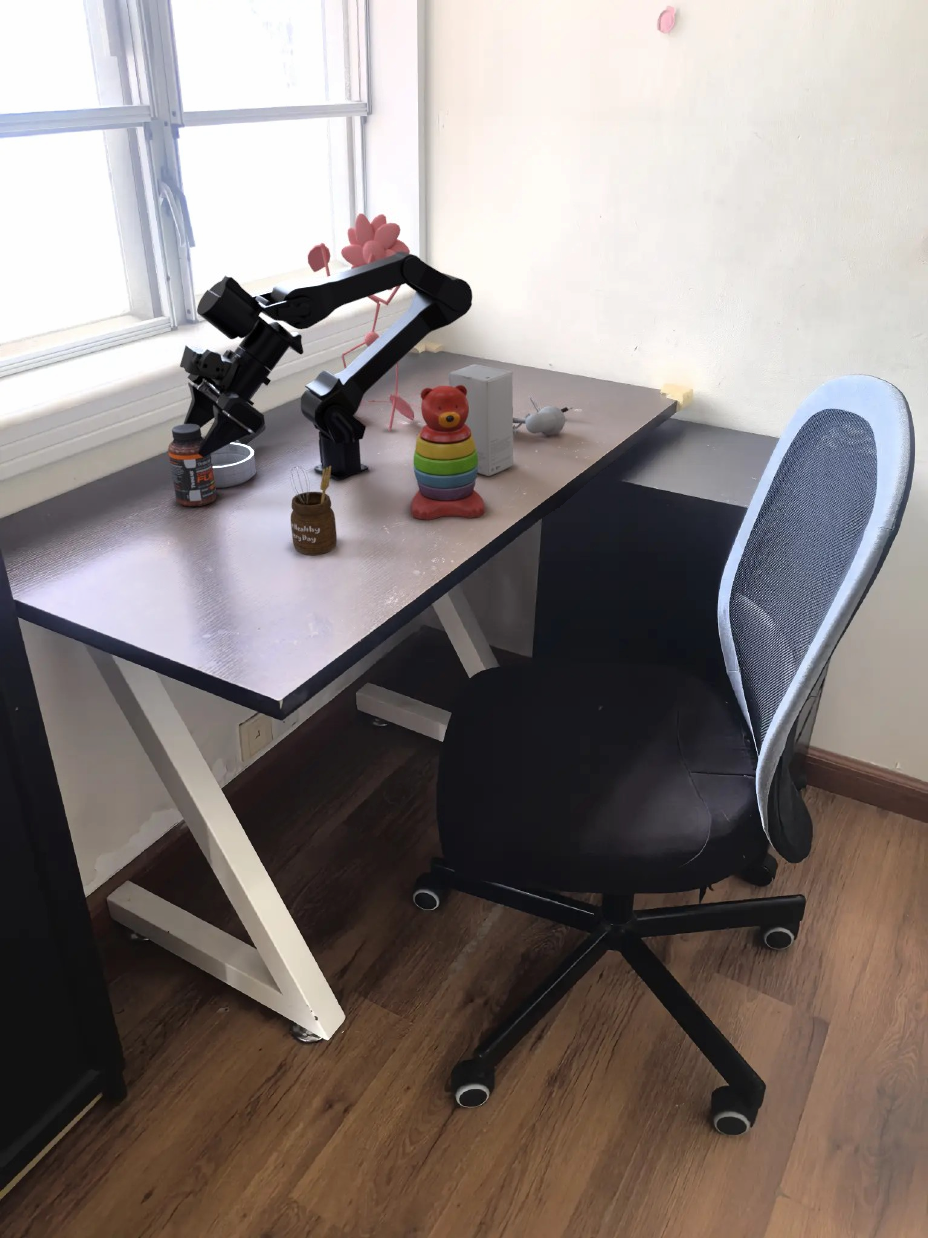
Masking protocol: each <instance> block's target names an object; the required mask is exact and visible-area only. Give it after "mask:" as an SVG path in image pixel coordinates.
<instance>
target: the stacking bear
mask: <svg viewBox="0 0 928 1238" xmlns="http://www.w3.org/2000/svg"><path fill="white" fill-rule="evenodd" d="M466 395H467V389H466V388H465V386H463V385H458V386H456V387H452V386H449V385H437V386H434V387H432V388H431V387H424V388H423V389H422V390H421V391H420V398H421V405H420V410H421V411H420V412H421V415H422V419H423V421H424V422H425V425H424V426H423V427H422V428H421V430H420V432H419V433H420V434H419V433H418V434H419V435H417V437H416V441H415V442H416V443H415V449H414V452H413V472H414V477H415V480H416V482H417V483H416V484H417V487H418V491H417V492H416V493H415V494H414V495H413V497H412V499H411V502H410V514H411V516H412V517H413V518H415V519H419V520H434V519H436V518H440V517H447V516H453V517H461V518H466V519H469V518H470V519H471V518H478V517H480V516H483V515H484V514H485V512H486V508H485V503H484V500H483V498H482V497H481V495H480V494H479V493H478V492H477V491H476V490H475V486H476V482H477V477H478V473H477V471H478V456H477V450H476V448H475V442H474V438H473V436H472V434H471V430H470V428H469V427H468V426H467V425H466V424H464V423H465V422H466V420H467V417H468V413H469V405H468V401H467V398H466Z"/></svg>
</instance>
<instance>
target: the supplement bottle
mask: <svg viewBox="0 0 928 1238" xmlns="http://www.w3.org/2000/svg"><path fill="white" fill-rule="evenodd" d="M201 429H202V428H200V426H198V425H196V424H184V423H182V424H178V425H174V426H173V427H172V428H171V434H172V441H171V442H170V443H169V444H168V445H167V446H168V448H167V450H168V458H169V464H170V470H171V477H172V482H173V489H174V494H175V500H176V502H177V503H178V504H180V505H182V506H185V507H194V508H196V507H202V506H206V505H209V504H211V503H213V502H214V501H215V500H216V498H217V488H216V486H215V480H214V473H213V466H212V458H211V454H209V455H207V456H205V457H202V456H200V455H199V454H198V450H199V448H200V446H201V444H202V442H203V440H204V438H205V437H203V436H202V430H201Z"/></svg>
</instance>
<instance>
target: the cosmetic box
mask: <svg viewBox="0 0 928 1238" xmlns="http://www.w3.org/2000/svg"><path fill="white" fill-rule="evenodd" d="M458 385H463V386H465V388H466V389H467V395H466V398H467V401H468V405H469V413H468V417H467V420H466V422H465V423H464V424H466V425H467V426H468V427H469V428H470V430H471V434H472V436H473V438H474V442H475V448H476V450H477V456H478V471H477V474H480V475H483V476H486V477H490V476H493V475H496V474H498V473H500V472H503V471H505V470H507V469H509V468H511V467H513V466H514V435H513V433H514V429H513V426H514V423H513V418H514V406H513V405H514V401H513V400H514V399H513V398H514V396H513V395H514V393H513V391H514V390H513V388H514V387H513V371H509V370H504V369H501V368H495V367H490V366H485V365H482V364H477V363H473V364H471V365H467V366H465V367H462V368H460V369H456V370H453V371H451V372H449V373H448V386H452V387H456V386H458Z"/></svg>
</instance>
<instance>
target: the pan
mask: <svg viewBox="0 0 928 1238" xmlns="http://www.w3.org/2000/svg"><path fill="white" fill-rule="evenodd" d="M229 445H236V446H237V451H230V450H229ZM211 458H212V466H213V473H214V480H215V486H216V489H218V488H219V489H221V488H228V487H234V486H237V485H240V484H244V483H246V482H248V481H250V480H251V479H252V478H253V477H254V476H255V475H256V473H257V463H256V457H255V451H254V449H253V448H252V447H251V446H249V445H247V444H246V445H243V444H238V443H230V444H228V445H226V446H224V447H222V448H221V449H219V450H217V451H215V452H213V453H211Z"/></svg>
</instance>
